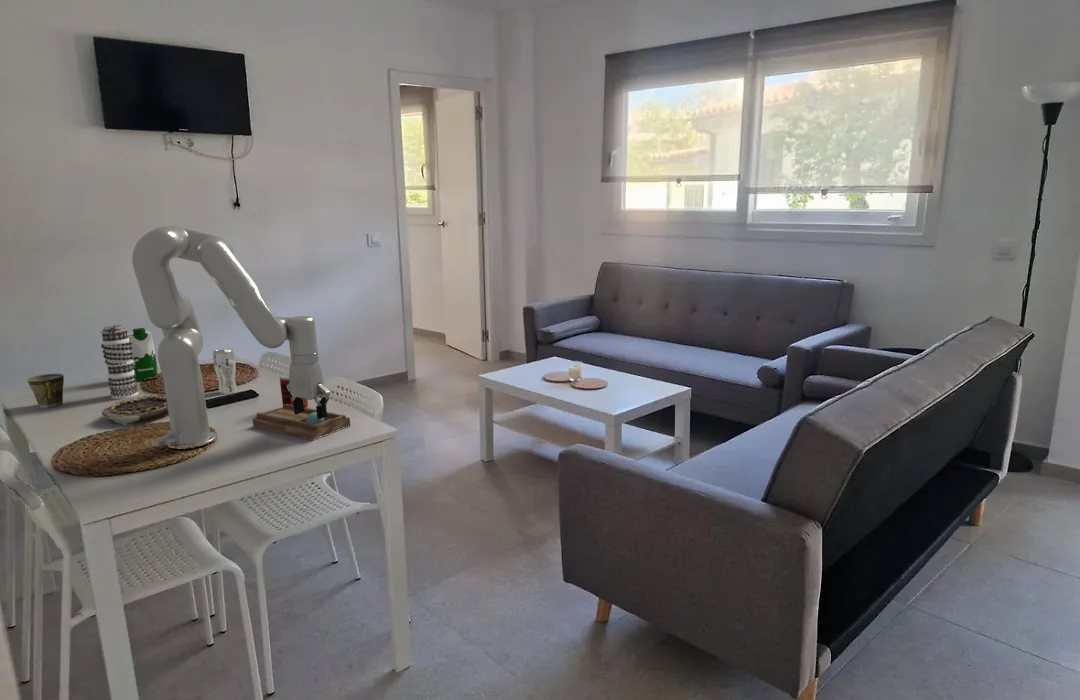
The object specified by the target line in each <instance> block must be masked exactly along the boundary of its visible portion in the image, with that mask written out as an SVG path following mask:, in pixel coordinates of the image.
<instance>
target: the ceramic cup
mask: <svg viewBox="0 0 1080 700" xmlns="http://www.w3.org/2000/svg"><path fill="white" fill-rule="evenodd" d="M64 381H65V380H64V373H58V372H57V373H55V372H54V373H44V374H40V375H39V374H37V375H35V376H32V377H29V378H27V383H28V385H29V387H30V390H31V391H32V392H33V395H34V397H35V400H36V402H37V404H38V407H39V408H40V409H49V408H56V407H59V406H61V405H63V401H64V399H63V397H64Z"/></svg>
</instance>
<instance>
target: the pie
mask: <svg viewBox="0 0 1080 700" xmlns="http://www.w3.org/2000/svg"><path fill="white" fill-rule="evenodd" d="M101 415H103V416H104V417H105V418H107V419H109V420H111V422H112V424H117V425H118V424H120V425H121V426H130V425H138V424H145V423H149V422H150V423H151V422H153V421H156V420H161V419H162V418H163V419H164V418H166V417H169V413H168V406H167V400H166V394H158V395H157V394H156V395H155V394H154V395H153V394H152V395H144V396H139V397H133V398H132V397H131V398H126V399H123V400H120V401H117V402H115V403H114V404H111V405H110V406H108V407H105V408H103V409H102V410H101Z"/></svg>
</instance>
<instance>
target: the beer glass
mask: <svg viewBox="0 0 1080 700" xmlns="http://www.w3.org/2000/svg"><path fill="white" fill-rule="evenodd" d="M212 357H213V368H214V370H215V374H216V377H217V380H218V383H219V384H218V394H220V395H221V394H222V395H229V393H230V394H233V392H234V393H236V391H237V390H238V387H237V383H236V368H237V367H236V366H237V365H236V358H235V352H234V349H233V348H221V349H220V348H219V349H216V350H214V351H212ZM237 392H238V391H237Z"/></svg>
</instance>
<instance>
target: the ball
mask: <svg viewBox="0 0 1080 700" xmlns="http://www.w3.org/2000/svg"><path fill="white" fill-rule="evenodd" d="M323 421H324V418H321V419H318V418H317V412H313V413H311V414H310V415H309V416H308V417H307V423H310V424H314V425H315V424H318V423H321V422H323Z"/></svg>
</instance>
